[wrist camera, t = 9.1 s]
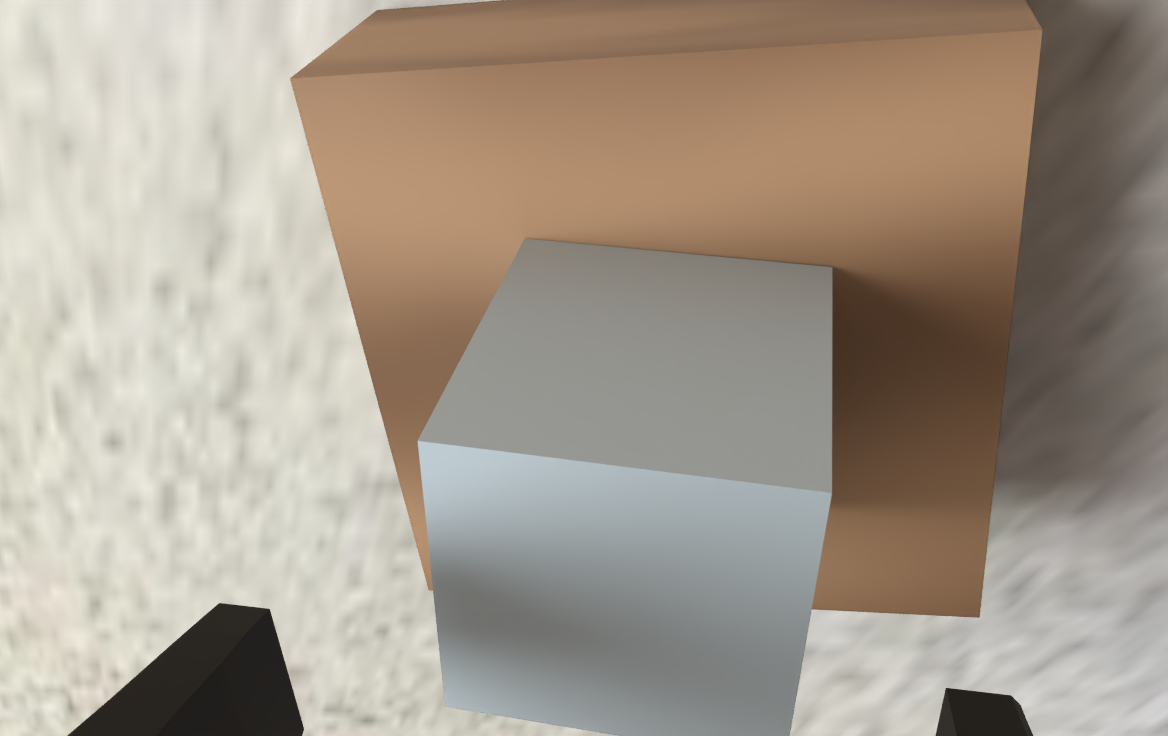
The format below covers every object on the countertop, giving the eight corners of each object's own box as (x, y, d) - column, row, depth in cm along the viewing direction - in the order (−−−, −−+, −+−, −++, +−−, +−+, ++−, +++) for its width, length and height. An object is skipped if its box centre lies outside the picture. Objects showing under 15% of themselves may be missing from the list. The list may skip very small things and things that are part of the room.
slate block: (795, 506, 18) (784, 762, 14) (531, 473, 18) (445, 706, 14) (832, 267, 15) (832, 493, 11) (524, 238, 16) (417, 440, 12)
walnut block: (956, 471, 22) (979, 617, 18) (483, 461, 24) (428, 590, 20) (999, -46, 16) (1042, 29, 13) (385, 4, 18) (290, 78, 15)
